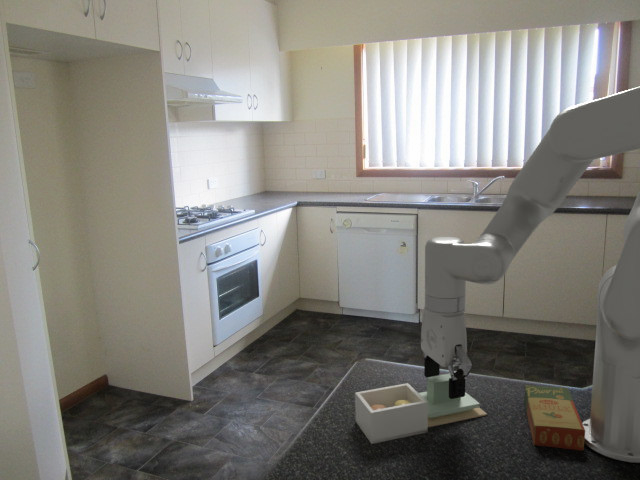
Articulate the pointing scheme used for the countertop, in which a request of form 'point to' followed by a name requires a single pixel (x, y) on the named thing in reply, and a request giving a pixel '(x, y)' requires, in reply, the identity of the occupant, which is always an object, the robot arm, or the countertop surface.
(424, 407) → the tub
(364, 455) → the countertop surface
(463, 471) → the countertop surface
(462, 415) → the mat
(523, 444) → the countertop surface
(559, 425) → the carton
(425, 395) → the lid
